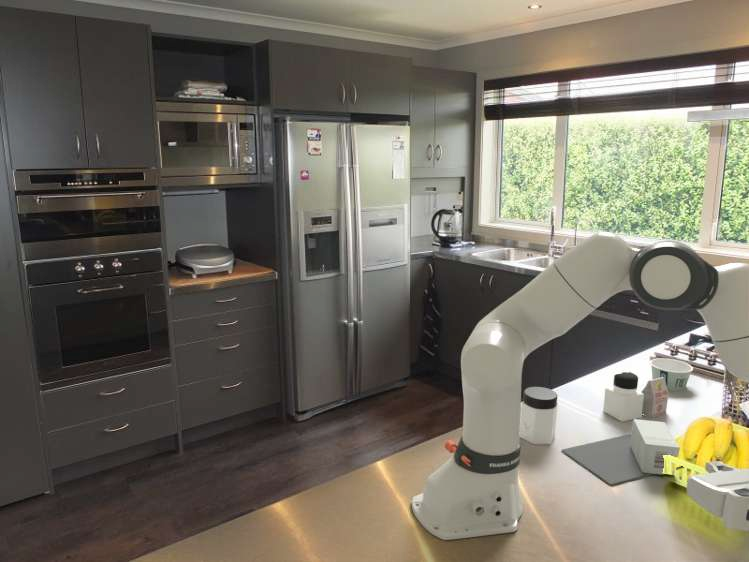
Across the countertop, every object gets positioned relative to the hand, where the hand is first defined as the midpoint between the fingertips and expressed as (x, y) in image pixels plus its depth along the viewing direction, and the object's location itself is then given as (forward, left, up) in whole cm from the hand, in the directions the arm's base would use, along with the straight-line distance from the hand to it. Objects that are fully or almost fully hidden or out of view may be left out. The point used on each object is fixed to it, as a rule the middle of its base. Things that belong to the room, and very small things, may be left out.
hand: (711, 464), depth 113 cm
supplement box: (+4, +15, -8) cm, 17 cm away
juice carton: (+29, +40, -12) cm, 51 cm away
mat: (+2, +24, -12) cm, 27 cm away
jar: (-10, +40, -12) cm, 43 cm away
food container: (+50, +53, -12) cm, 74 cm away
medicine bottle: (+20, +42, -12) cm, 48 cm away
